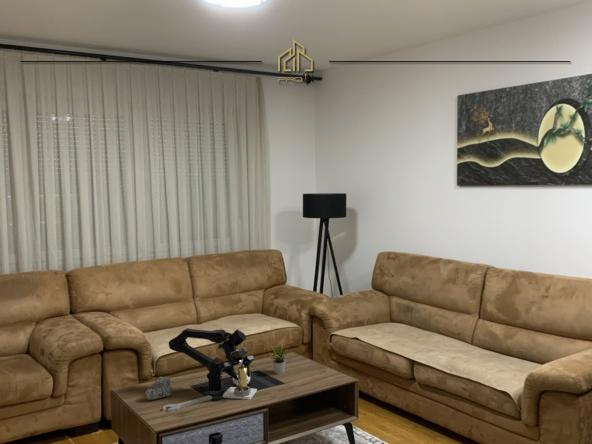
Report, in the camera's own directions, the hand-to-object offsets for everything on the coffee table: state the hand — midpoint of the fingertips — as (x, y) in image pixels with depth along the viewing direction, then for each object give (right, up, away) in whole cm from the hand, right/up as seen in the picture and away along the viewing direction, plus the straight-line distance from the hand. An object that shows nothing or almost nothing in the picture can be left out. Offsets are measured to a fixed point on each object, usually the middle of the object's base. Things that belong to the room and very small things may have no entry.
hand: (243, 378), depth 281 cm
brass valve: (-1, -8, +2) cm, 8 cm away
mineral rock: (-43, -10, +2) cm, 44 cm away
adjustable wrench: (-26, -11, -8) cm, 29 cm away
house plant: (+16, -6, +37) cm, 40 cm away
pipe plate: (-2, -9, +4) cm, 10 cm away
